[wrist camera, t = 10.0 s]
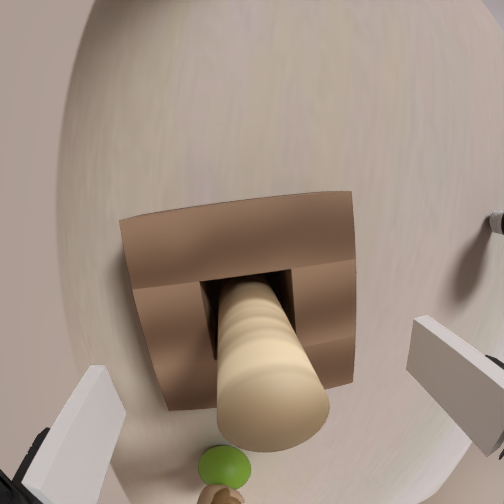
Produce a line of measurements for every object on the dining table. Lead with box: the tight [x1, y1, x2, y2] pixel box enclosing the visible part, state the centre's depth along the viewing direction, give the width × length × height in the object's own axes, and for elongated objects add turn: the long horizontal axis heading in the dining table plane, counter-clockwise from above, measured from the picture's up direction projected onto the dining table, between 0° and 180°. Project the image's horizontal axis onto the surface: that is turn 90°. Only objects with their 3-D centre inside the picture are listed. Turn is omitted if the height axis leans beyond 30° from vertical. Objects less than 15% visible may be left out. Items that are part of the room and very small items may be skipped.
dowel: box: [217, 273, 330, 452], centre depth 16 cm, size 4×4×14 cm
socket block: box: [119, 191, 356, 411], centre depth 20 cm, size 14×14×5 cm
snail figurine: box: [197, 446, 251, 504], centre depth 20 cm, size 5×6×12 cm
